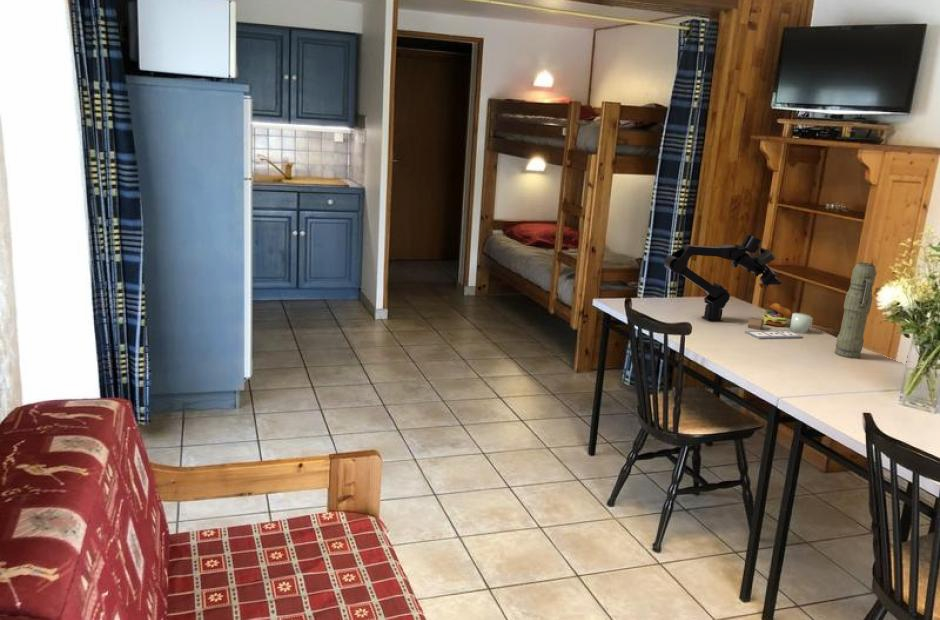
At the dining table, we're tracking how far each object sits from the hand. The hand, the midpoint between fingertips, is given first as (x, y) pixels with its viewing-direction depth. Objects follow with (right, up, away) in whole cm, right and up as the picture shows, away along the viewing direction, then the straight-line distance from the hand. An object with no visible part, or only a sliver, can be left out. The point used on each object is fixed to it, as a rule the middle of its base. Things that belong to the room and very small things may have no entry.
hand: (777, 278), depth 329 cm
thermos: (+11, -30, -38) cm, 50 cm away
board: (-8, -24, -18) cm, 31 cm away
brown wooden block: (-12, -21, -8) cm, 26 cm away
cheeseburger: (-1, -20, +1) cm, 20 cm away
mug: (+7, -22, -8) cm, 25 cm away
